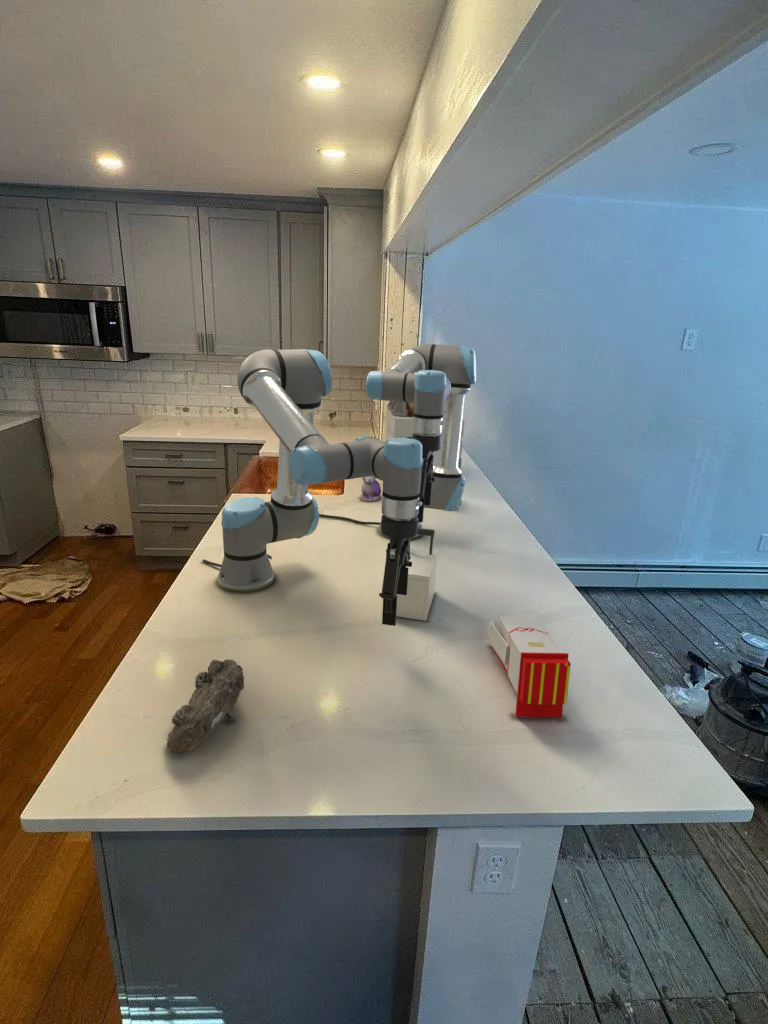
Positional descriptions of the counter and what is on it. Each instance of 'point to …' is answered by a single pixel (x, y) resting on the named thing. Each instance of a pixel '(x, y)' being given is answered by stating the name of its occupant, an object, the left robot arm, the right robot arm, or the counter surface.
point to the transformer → (405, 422)
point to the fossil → (206, 705)
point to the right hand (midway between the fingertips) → (421, 512)
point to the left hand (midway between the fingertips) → (395, 608)
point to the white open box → (417, 598)
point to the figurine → (370, 489)
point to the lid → (422, 559)
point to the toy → (531, 665)
